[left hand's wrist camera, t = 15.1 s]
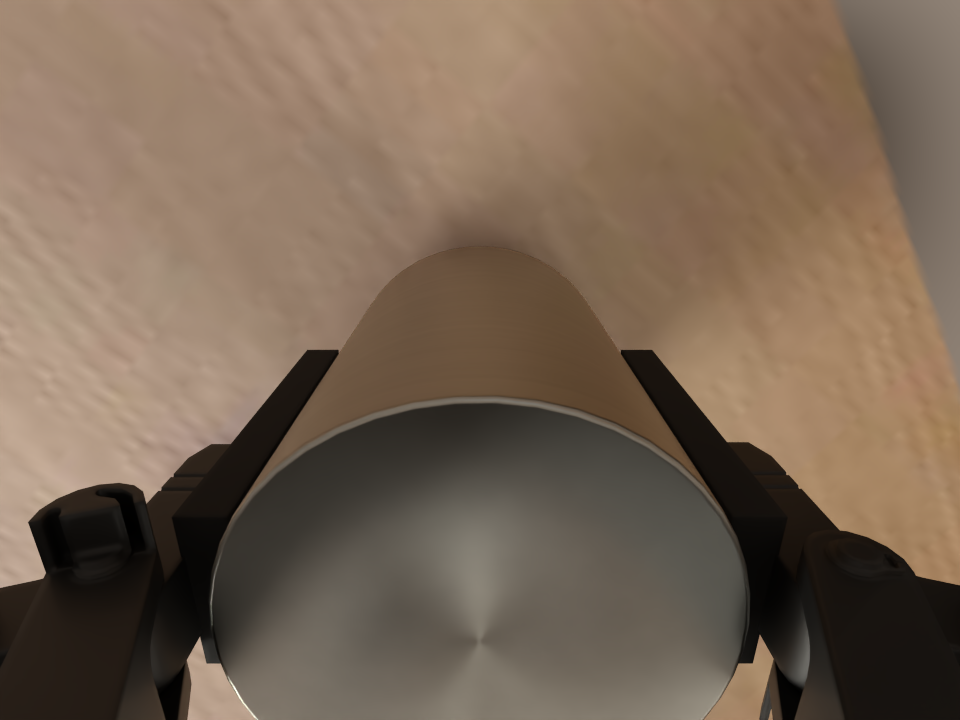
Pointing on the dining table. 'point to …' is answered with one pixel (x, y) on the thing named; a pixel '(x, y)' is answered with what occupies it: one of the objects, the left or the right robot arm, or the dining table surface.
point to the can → (479, 524)
